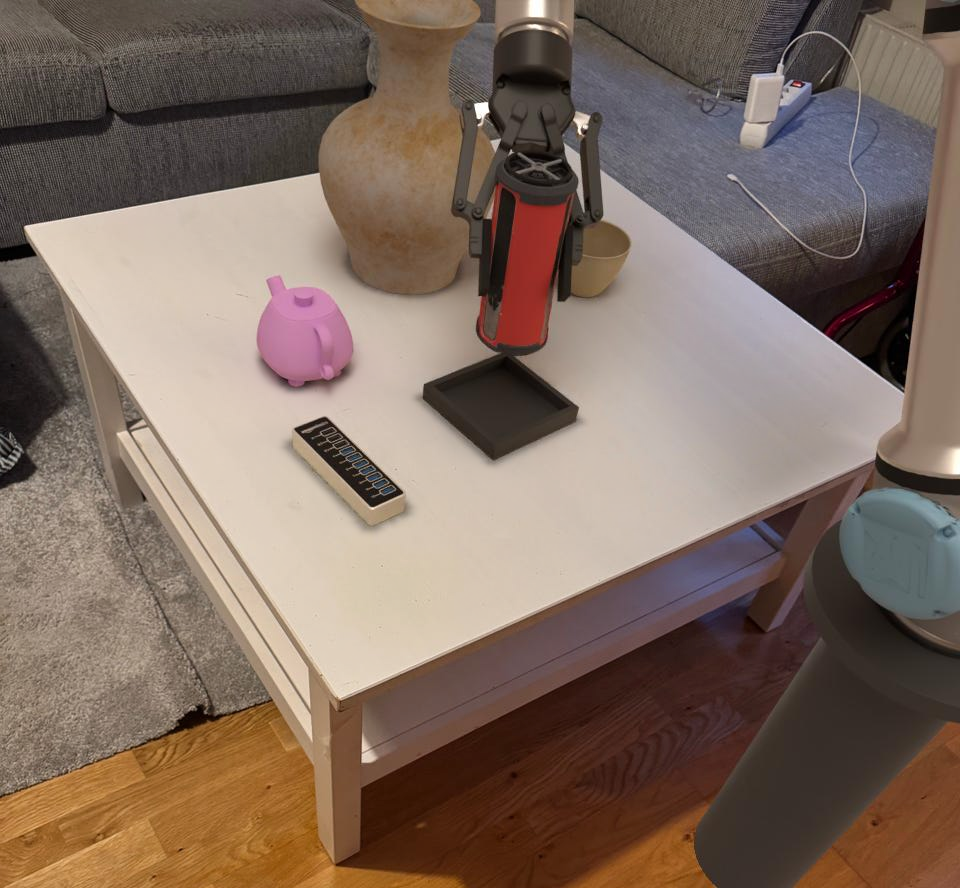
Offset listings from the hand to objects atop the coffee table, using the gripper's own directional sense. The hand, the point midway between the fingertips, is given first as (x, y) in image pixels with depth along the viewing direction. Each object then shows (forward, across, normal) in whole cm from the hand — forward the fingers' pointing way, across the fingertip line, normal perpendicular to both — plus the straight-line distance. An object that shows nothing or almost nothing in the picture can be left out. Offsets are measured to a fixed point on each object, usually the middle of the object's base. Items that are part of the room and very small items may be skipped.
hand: (524, 295), depth 90 cm
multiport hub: (+18, +17, -5) cm, 25 cm away
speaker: (+3, 0, -8) cm, 8 cm away
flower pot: (-10, -14, -33) cm, 37 cm away
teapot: (+4, +22, -19) cm, 30 cm away
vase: (-11, +10, -35) cm, 38 cm away
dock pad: (+9, 0, -14) cm, 17 cm away
